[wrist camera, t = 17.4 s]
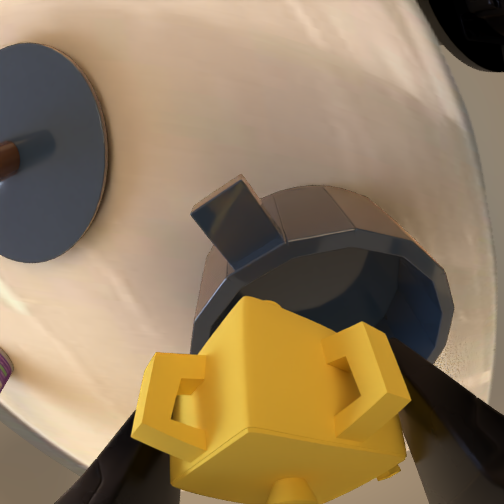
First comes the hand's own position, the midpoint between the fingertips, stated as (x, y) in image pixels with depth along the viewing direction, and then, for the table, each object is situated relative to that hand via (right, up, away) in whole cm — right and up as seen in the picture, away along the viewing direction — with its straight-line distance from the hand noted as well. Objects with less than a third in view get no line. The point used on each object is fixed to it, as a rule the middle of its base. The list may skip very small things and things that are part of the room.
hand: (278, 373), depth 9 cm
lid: (-16, +9, +6) cm, 19 cm away
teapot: (+1, +1, +1) cm, 1 cm away
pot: (+3, +1, +12) cm, 12 cm away
